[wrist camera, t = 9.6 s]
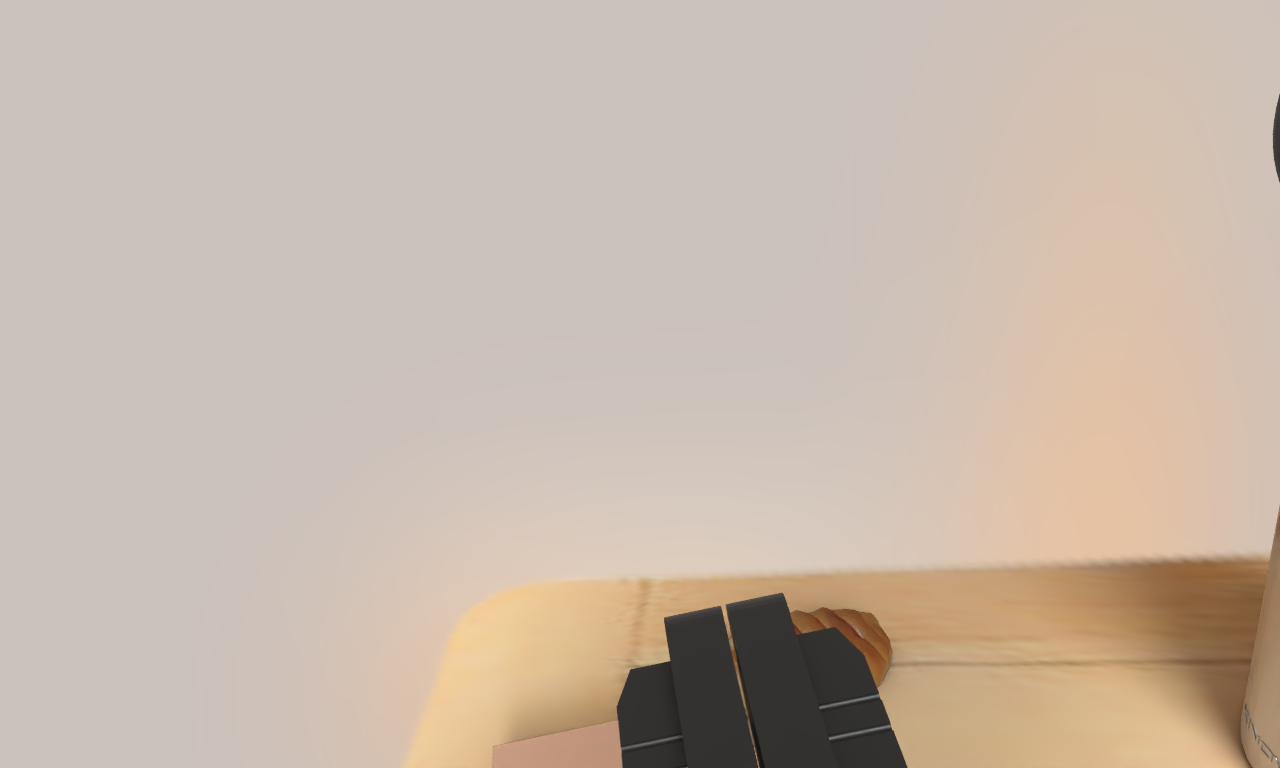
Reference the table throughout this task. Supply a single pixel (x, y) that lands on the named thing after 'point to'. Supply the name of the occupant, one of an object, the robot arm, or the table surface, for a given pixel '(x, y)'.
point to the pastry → (854, 627)
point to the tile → (564, 749)
